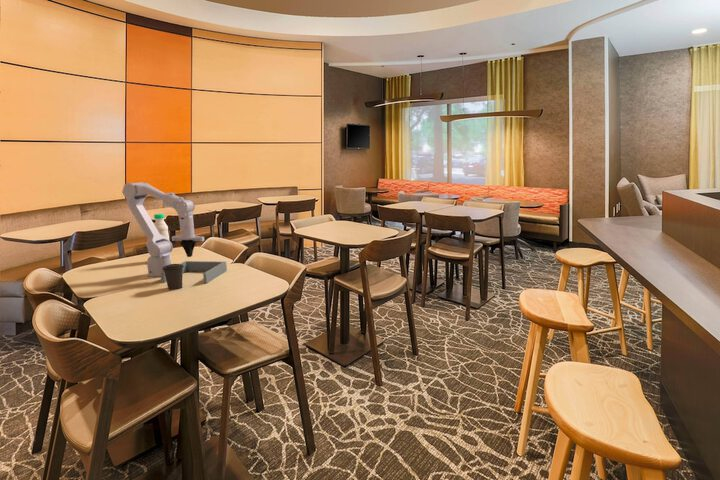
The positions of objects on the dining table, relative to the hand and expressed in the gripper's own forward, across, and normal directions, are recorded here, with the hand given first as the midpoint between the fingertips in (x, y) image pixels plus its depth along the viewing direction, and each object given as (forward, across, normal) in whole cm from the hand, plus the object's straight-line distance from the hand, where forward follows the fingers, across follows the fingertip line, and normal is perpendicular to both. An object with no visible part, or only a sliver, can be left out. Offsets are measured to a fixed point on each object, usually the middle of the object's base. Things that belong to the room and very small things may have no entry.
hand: (189, 256), depth 184 cm
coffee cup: (+10, -2, +17) cm, 19 cm away
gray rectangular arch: (+9, -2, +1) cm, 10 cm away
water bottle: (+10, +30, -26) cm, 41 cm away
